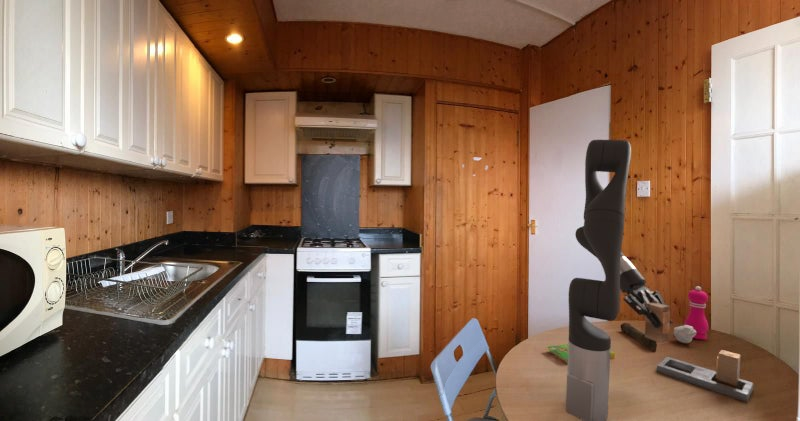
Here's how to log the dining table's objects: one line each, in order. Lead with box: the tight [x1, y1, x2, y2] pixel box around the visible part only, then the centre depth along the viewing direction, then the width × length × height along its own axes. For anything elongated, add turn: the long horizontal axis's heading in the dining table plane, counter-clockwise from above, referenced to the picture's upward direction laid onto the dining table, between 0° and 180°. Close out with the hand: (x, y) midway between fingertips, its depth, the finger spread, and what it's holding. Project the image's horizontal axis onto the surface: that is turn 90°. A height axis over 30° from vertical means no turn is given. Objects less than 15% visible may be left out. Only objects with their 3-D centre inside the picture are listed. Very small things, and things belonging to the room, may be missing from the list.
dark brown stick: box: [620, 322, 658, 352], centre depth 131 cm, size 19×4×5 cm, turn 173°
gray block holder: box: [656, 349, 754, 403], centre depth 103 cm, size 20×10×10 cm, turn 38°
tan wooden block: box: [644, 302, 671, 343], centre depth 100 cm, size 4×4×10 cm
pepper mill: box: [684, 285, 710, 340], centre depth 136 cm, size 7×7×20 cm
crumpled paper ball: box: [673, 324, 696, 344], centre depth 130 cm, size 6×7×7 cm
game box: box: [545, 344, 616, 364], centre depth 118 cm, size 3×10×20 cm
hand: (664, 325), depth 98 cm, fingers closed on tan wooden block, 4 cm apart
